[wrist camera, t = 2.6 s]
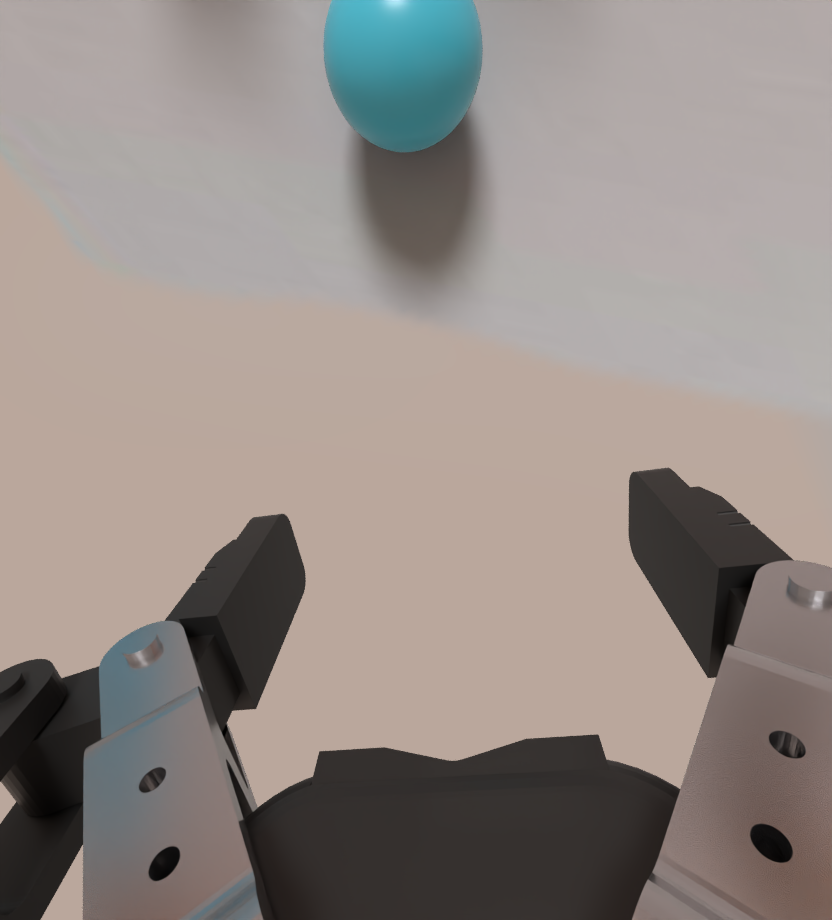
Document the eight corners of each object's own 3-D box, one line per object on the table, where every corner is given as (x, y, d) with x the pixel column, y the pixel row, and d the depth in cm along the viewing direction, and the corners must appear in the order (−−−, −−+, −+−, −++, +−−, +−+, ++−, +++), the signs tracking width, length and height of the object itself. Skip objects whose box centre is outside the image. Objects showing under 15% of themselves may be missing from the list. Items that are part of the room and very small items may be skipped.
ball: (467, -22, 19) (476, -129, 14) (484, 148, 22) (498, 114, 16) (326, 14, 20) (282, -74, 15) (357, 175, 23) (329, 151, 17)
